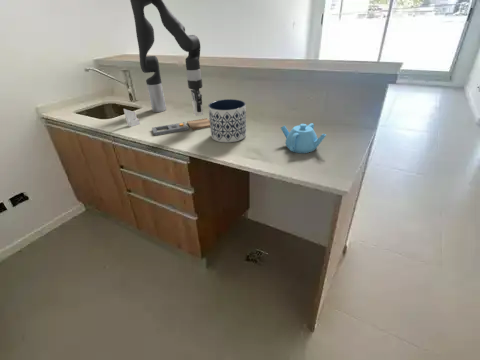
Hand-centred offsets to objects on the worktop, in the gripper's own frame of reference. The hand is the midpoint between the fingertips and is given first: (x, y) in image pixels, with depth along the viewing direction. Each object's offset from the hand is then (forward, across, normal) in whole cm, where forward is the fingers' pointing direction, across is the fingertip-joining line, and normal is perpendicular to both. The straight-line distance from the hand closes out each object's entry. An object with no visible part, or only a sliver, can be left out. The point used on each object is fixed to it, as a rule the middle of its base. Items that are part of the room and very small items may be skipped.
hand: (198, 110), depth 150 cm
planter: (+9, +23, +9) cm, 26 cm away
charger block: (+2, 0, 0) cm, 2 cm away
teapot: (+9, +51, +34) cm, 62 cm away
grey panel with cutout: (+8, 0, -17) cm, 19 cm away
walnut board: (+8, 0, 0) cm, 8 cm away
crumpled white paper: (+9, -19, -35) cm, 41 cm away
